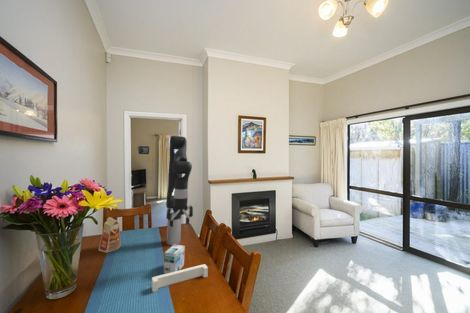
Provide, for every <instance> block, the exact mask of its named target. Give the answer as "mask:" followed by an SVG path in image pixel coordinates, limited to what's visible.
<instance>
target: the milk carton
mask: <svg viewBox="0 0 470 313" xmlns="http://www.w3.org/2000/svg"><path fill="white" fill-rule="evenodd" d="M120 231H121V229H120V223H119V222H118V220H117V219H114V218H112V217H110V216H109V217H108V219H107V221H105V222H104V225H103V229H102V233H101V238H100V241H99V246H98V251H99V252H102V253H106V254H107V253H109V252H113V251H117V250H118V249H120V248H121V232H120Z"/></svg>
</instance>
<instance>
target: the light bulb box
mask: <svg viewBox="0 0 470 313" xmlns="http://www.w3.org/2000/svg"><path fill="white" fill-rule="evenodd" d="M185 247H186V246H185V245H182V244H177V245H176V244H174V245H171V247H169V248H168V249H167V250H166V251H164V258H163V259H164V261H163V262H164V263H163V273H164V274H167V273H171V272H175V271H179V270H182V268H183V267H184V266H185V251H186V250H185V249H186V248H185Z"/></svg>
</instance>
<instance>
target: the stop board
mask: <svg viewBox="0 0 470 313" xmlns="http://www.w3.org/2000/svg"><path fill="white" fill-rule="evenodd" d="M208 275H209V267H208V266H207V264H205V263H204V264H200V265H196V266H191V267H187V268H184V269H180V270H179V271H175V272H171V273H164V274H160V275H156V276H153V277H151V290H152V293H157V292H158V291H159V289H160V288H163V287H167V286H168V287H169V286H170V285H175V284H177V283H181V282H185V281H189V280H192V279H195V278H199V277H203V278H208Z"/></svg>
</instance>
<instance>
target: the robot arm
mask: <svg viewBox="0 0 470 313" xmlns="http://www.w3.org/2000/svg"><path fill="white" fill-rule="evenodd" d="M187 142H188V141H187V138H186V137H185V136H178V135H171V136H170V138H169V160H168V161H169V162H168V179H167V180H168V181H167V191H166V192H167V193H166V200H165V201H166V202H165V203H166V220H167V230H166V244H167V245H168V246H173V245H174V244H176V245H180V243H181V237H182V236H181V235H182V234H181V233H182V216H183V215H185V225H186V226H188V225H189V224H190V218H192V217H194V216H193V215H194V214H193V213H194V212H193V211H194V210H193V209H194V207H193V206H192V205H189V206H188V198H189V194H188V193H189V192H188V190H189V189H188V187H189V186H188V185H189V178H190V175H191V172H192V168H193V165H192V163H191V162H190V161H188V158H187V157H188V156H187V149H188V148H187V146H188V144H187ZM175 150H176V152H175ZM183 174H184V175H183ZM172 211H173V212H172ZM187 211H188V212H189V213H188V212H187Z"/></svg>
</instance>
